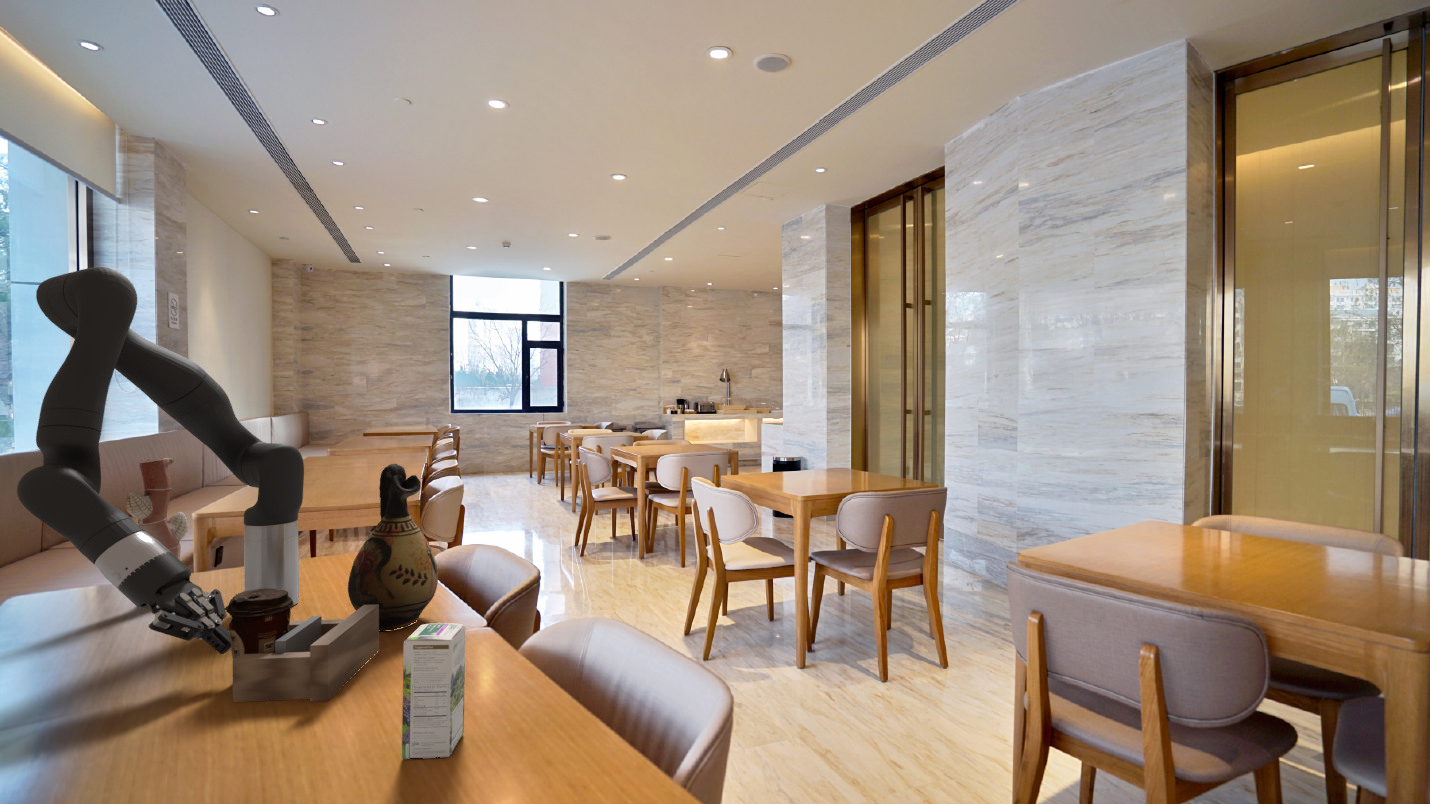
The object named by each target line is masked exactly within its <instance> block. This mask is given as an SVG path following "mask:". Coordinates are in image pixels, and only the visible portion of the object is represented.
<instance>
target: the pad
mask: <svg viewBox="0 0 1430 804" xmlns="http://www.w3.org/2000/svg"><path fill="white" fill-rule="evenodd" d="M305 620H306V621H305V622H303V623H302V624H300V625H299V626H297V627H296V628H294V629H293V630H291V631H290V632H288V633H287V634H285V635H284V636H282V637H281V638H279V639H278V640H276V641H275V653H289V652H310V645H312V644H313V643H314V642H315V641H317V640H318V639H319V638H321V637H322V620H323V619H322V615H313V616H312V615H311V617H309V618H307V619H305Z"/></svg>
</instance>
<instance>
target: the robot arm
mask: <svg viewBox="0 0 1430 804" xmlns="http://www.w3.org/2000/svg"><path fill="white" fill-rule="evenodd" d="M35 293H36V294H35V295H36V296H35V299H36V302H37V305H38V307H39V309H40V310H41V312H42V313H43V314H44V316H45V317H46V318H47V319H48V320H49V321H50V322H51V323H52V324H54V325H55V326H56V327H58V329H60V330H61V331H63V332H64V333H65V334H67V335H68V336H70V337H71V338H72V339H73V340H74V341H73V343H72V344H71V348H70V350H69V352H68V354H67V356H66V358H65V359H64V361H63V363H62V364H61V366H60V367H59V369H58V371H57V372H56V374H55V375H54V376H53V377H52V380H51V382H50V383H49V385H48V387H47V389H46V392H45V393H44V396H43V398H42V403H41V407H40V410H39V411H40V412H39V419H38V423H37V429H36V433H35V435H36V436H35V444H36V446H37V448H38V449H39V451H40V452H41V453H42V456H43V465H41V466H37V467H35V468H31V469H30V470H29V471H27V472H26V473H25V474H23V475H22V477H21V478H20V480H18V481H19V482H18V483H17V488H16V494H17V498H18V500H19V502H20V504H22V505H23V507H24V508H25V509H26V510H27V511H28V512H29V513H30V514H32V515H33V516H34V517H35V518H37V519H38V520H39V521H41V522H42V523H44V524H45V525H46V526H48V527H49V528H51V530H52V529H53V530H54V531H55V532H56V533H58V534H60V535H61V536H62V537H64V538H65V539H67V540H68V541H69V542H70V543H71V545H73V546H74V547H75V548H76V549H77V550H78V551H79V553H81V554H82V555H83V556H84V557H85V558H86V559H87V560H89V561H90V562H91V563H92V564H93V565H94V566H95V567H96V568H97V569H98V570H99V572H100V573H101V574H102V575H103V577H104V578H105V579H106V580H108V582H109V583H110V584H112V586H114V587H115V588H116V589H117V590H118V591H119V592H120V593H121V594H123V596H125V597H126V598H127V599H128V600H129V601H130V602H131V603H132V604H133V605H134V606H136V607H137V608H138V609H141V610H145V609H148V608H149V610H150V612H151V614H153V615H154V620H152V621H151V622H150V623H149V624H148V628H149V629H150V630H152V631H154V632H158V633H161V634H164V635H167V636H171V637H175V638H178V639H181V640H185V641H186V642H190V641H192V640H193V639H197V640H203V641H204V642H205V643H207V644H208V646H210V647H211V648H212V649H213V650H215V652H217V653H219V654H220V655H224V654H226V653H228V652H229V651H230V650H231V651H232V648H231V640H230V632H229V630H228V629H226V628H225V626H223V625H222V624H223V621H224V620H225V618H226V617H228V615H227V610H225V608H226V607H225V603H224V599H223V595H222V592H221V591H220V590H219V589H217V588H214V589H213V590H212V591H211V592H208V591H203V589H202V587H200V586H199V585H197V584H195V583H193V582H192V581H191V580H190V578H191V575H192V570H191V569H190V568H189V567H188V566H187V565H186V564H184V563H183V562H182V561H181V559H180V560H179V559H178V558H177V557H176V556H175V555H174V554H172V553H171V552H170V551H169V550H168V549H167V548H166V547H165V546H164V545H163V544H162V543H160V542H159V541H158V540H157V539H155V538H154V537H152V536H151V535H149V534H148V533H147V532H145V531H144V530H143V529H142V528H141V527H140V526H139V524H138V522H135V520H133V518H131V516H129V515H128V514H127V513H125V512H124V511H122V510H121V509H120V508H119V509H118V508H117V507H115V506H113V505H111V504H110V503H109V502H108V501H106V500H105V498H103V497H102V496H101V495H100V493H101V487H102V468H101V455H100V447H99V446H100V445H99V444H100V440H101V436H102V428H103V424H104V423H103V421H104V416H105V408H106V404H107V399H108V393H109V389H110V385H111V383H112V382H111V381H112V378H113V375H114V372H115V370H116V371H117V372H118V373H119V374H121V375H122V376H123V377H124V378H125V379H126V380H128V381H129V382H130V383H131V384H133V385H134V386H136V388H137V389H139V390H140V391H141V392H142V393H144V394H145V395H146V396H147V397H148V398H149V399H150V400H151V401H152V402H153V403H155V405H157V406H158V407H159V408H160V409H161V410H162V411H163V412H164V413H165V414H166V415H168V416H169V417H171V418H172V419H173V420H174V421H176V423H178V424H180V425H181V426H182V427H183V428H184V429H185V430H187V431H188V432H189V433H190V434H191V435H192V436H193V437H195V438H196V439H198V441H200V442H201V443H202V444H204V445H205V446H206V447H207V448H208V449H210V451H211V452H213V454H215V455H216V457H217V458H218V459H219V460H220V461H221V462H222V463H223V464H224V465H225V467H226V468H227V469H228V470H229V471H230V472H231V473H232V474H233V475H234V476H235V478H237V480H239V482H241V483H243V484H244V485H246V486H249V487H252V488H256V489H258V492H257V501H256V502H255V504H254V505H252V506H250V507H248V508H246V509H245V511H244V512H243V513H244V514H243V563H244V564H243V565H244V566H243V570H244V571H243V573H244V574H243V575H244V576H243V578H244V580H243V581H244V582H243V587H244V589H243V592H244V591H248V590H255V589H261V588H273V589H279V590H285V591H287V592H288V596H289V597H291V599H292V601H293V603H294V604H293V606H295V605H296V604H298V603H299V598H300V554H299V512H300V510H301V507H302V505H303V500H304V481H305V464H304V463H305V462H304V459H303V456H302V454H301V452H300V451H299V449H297V447H295V446H293V445H291V444H287V443H277V442H276V443H273V442H271V443H270V442H265V441H263V440H261V439H259V438H258V437H257V436H256V435H254V434H253V433H252V432H251V431H249V430H248V429H247V428H246V427H245V426H244V425H243V423H241V422H240V420H238V418H237V416H236V414H235V412H234V408H233V405H232V403H231V401H230V398H229V396H228V394H227V393H226V391H225V390H224V388H222V386H221V385H220V384H219V383H218V382H217V381H216V380H215V379H214V378H213V377H212V376H211V375H210V374H208V372H207V371H206V370H204V369H203V368H202V367H201V366H200V365H199V364H197V363H195V362H194V361H192V360H191V359H189V358H187V357H185V356H183V355H181V354H179V353H177V352H175V351H172V350H170V349H168V348H165V347H164V346H161V345H160V344H159V345H158V344H156V343H154V342H152V341H150V340H148V339H146V338H145V337H143V336H142V335H140V334H138V333H137V332H136V331H135V330H133V329H132V328H130V327H131V325H132V323H133V320H134V318H135V314H136V311H137V308H138V307H137V305H138V295H137V290H136V288H135V286H134V284H133V283H132V281H131V280H130V279H129V278H128V277H127V276H126V275H124V273H121V272H120V271H118V270H116V269H113V268H110V267H105V266H97V267H96V266H94V267H88V268H83V269H80V270H75V271H72V272H68V273H64V274H63V273H62V274H61V275H56V276H53V277H50V278H47V279H45V280H43V281H42V282H40V284H39V285H38V287H37V289H36V292H35Z"/></svg>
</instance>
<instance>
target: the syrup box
mask: <svg viewBox="0 0 1430 804" xmlns="http://www.w3.org/2000/svg"><path fill="white" fill-rule="evenodd" d="M402 654H403V656H402V657H403V663H402V665H403V666H402V668H403V670H402V710H401V711H402V715H401V716H402V718H401V719H402V720H401V721H402V726H401V728H402V729H401V734H402V735H401V758H402V760H411V759H410V758H423V759H437V758H438V757H440V758H450V757H451V756H452V754H453V752H454V751H455V749H456V747H457V745H458V744H457V743H459V742H460V740H461V739H462V737H463V735H464V733H465V730H464V729H465V728H464V727H465V685H466V684H465V682H466V681H465V680H466V679H465V678H466V677H465V675H466V674H465V673H466V671H465V670H466V662H465V661H466V625H465V624H463V623H462V624H461V623H452V622H435V623H434V622H431V623H425V624H424V623H423V624H421V625H420V626H418V627H417V629H415V630H414V632H412V633H411V634H410V635H409V636H408V637H407V638H406V639H404V641H403V653H402ZM436 757H437V758H436Z"/></svg>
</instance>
